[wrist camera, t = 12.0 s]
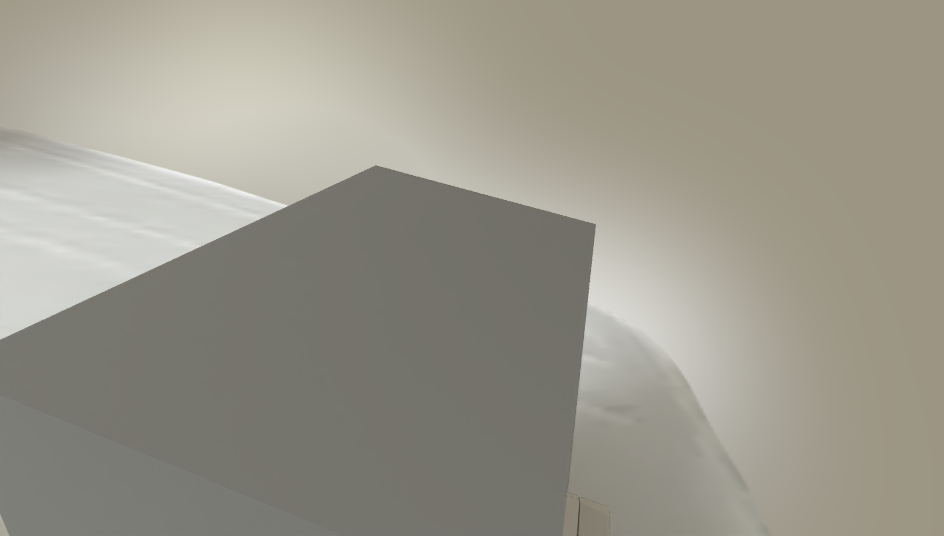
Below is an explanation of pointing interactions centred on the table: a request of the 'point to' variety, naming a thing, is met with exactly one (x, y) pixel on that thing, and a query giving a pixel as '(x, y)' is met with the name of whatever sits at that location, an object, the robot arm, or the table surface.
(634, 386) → the table surface
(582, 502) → the robot arm
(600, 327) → the table surface
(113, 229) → the table surface
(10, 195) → the table surface
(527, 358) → the block
